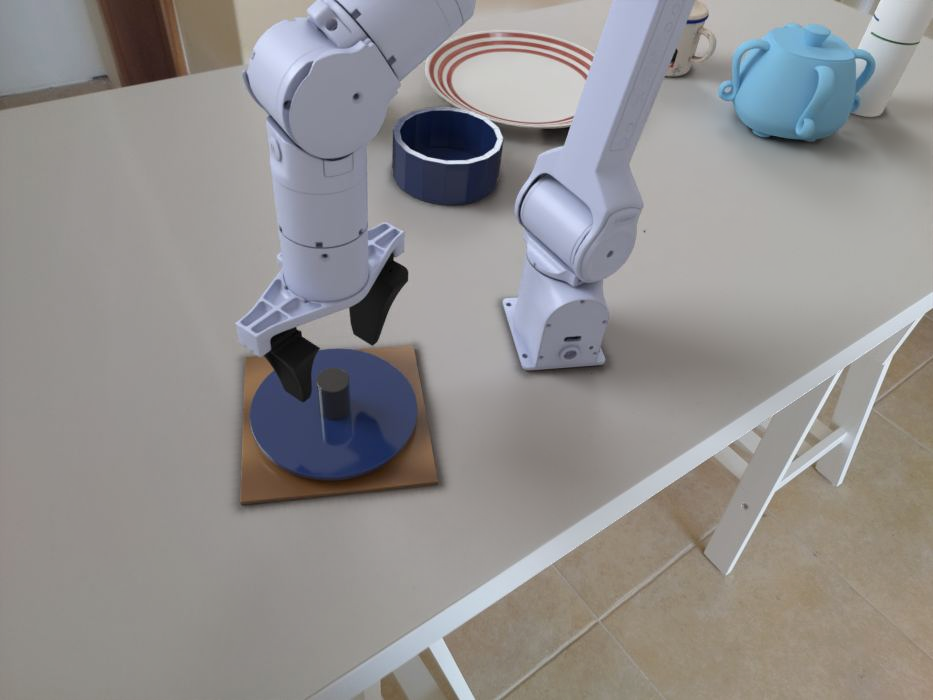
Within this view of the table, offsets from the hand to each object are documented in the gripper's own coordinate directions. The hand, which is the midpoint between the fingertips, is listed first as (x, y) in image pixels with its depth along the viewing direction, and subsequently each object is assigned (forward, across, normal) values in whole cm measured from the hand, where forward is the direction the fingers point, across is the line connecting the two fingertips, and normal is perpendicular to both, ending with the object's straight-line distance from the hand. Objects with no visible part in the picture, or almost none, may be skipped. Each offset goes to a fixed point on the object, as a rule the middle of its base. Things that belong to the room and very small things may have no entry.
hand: (332, 364), depth 57 cm
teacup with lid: (+7, -84, -8) cm, 85 cm away
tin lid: (+6, 0, 0) cm, 6 cm away
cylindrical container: (+7, -94, +19) cm, 97 cm away
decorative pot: (+7, -79, +11) cm, 80 cm away
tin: (+7, -36, -16) cm, 40 cm away
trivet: (+7, 0, 0) cm, 7 cm away
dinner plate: (+7, -60, -20) cm, 63 cm away
